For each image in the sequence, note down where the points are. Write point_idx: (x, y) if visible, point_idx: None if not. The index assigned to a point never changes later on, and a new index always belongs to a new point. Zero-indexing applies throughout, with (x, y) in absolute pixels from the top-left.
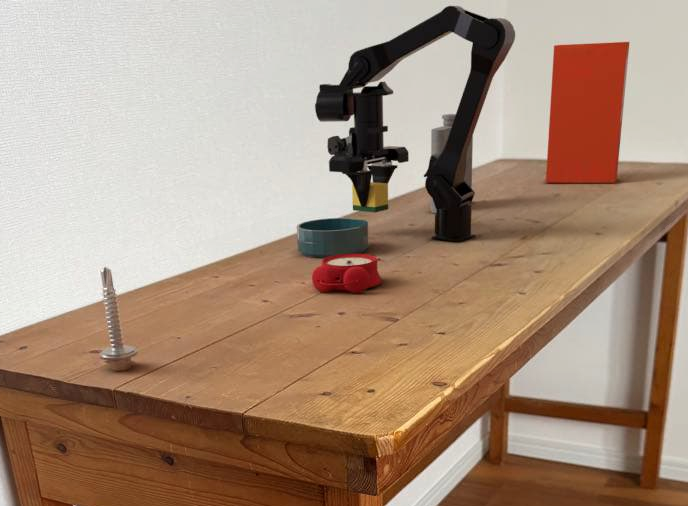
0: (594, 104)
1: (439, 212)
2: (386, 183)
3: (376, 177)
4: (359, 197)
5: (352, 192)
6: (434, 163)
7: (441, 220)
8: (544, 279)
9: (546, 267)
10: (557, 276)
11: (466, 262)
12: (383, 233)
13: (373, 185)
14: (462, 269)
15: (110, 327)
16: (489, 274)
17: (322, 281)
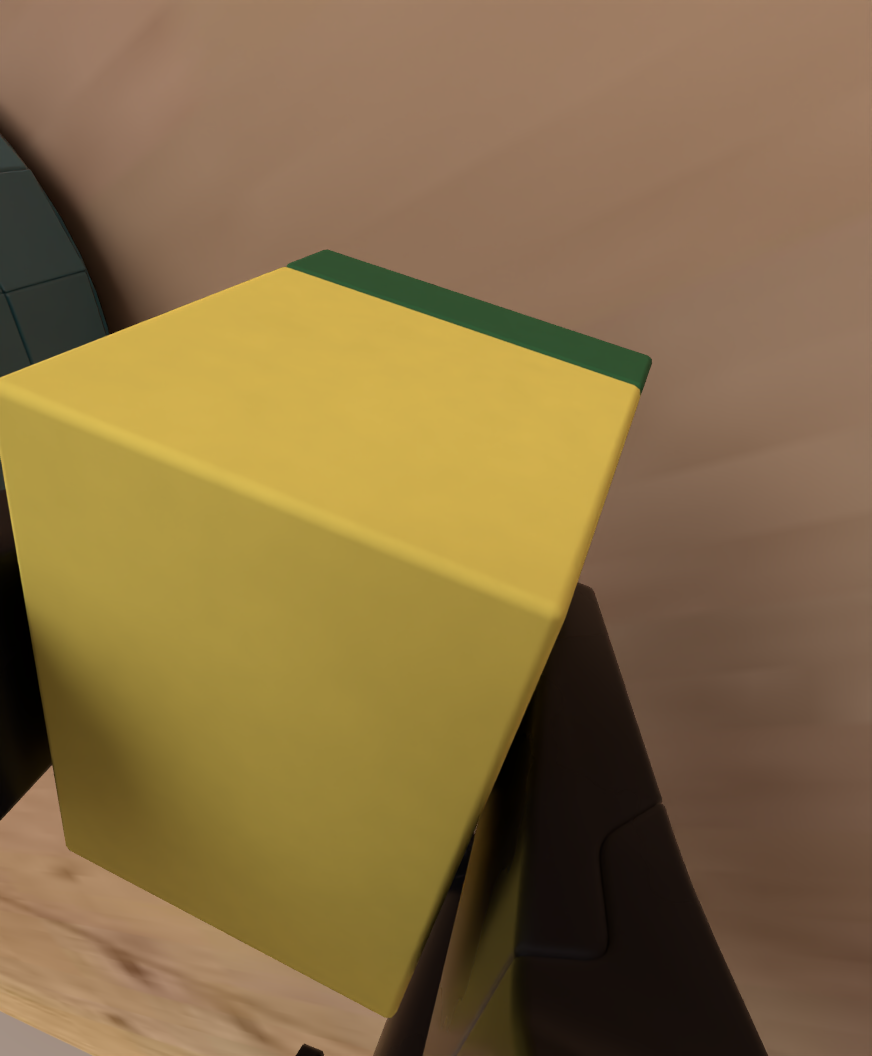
0: None
1: (426, 1028)
2: (375, 1006)
3: (470, 1002)
4: None
5: (133, 329)
6: None
7: (410, 980)
8: (68, 1013)
9: (172, 1048)
10: (107, 1040)
11: (111, 903)
12: (641, 477)
13: (114, 832)
14: (33, 884)
15: None
16: (32, 932)
17: None
